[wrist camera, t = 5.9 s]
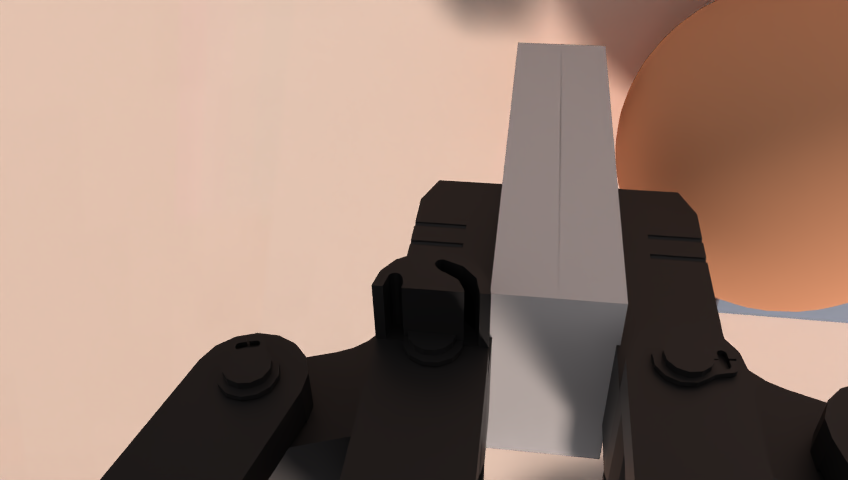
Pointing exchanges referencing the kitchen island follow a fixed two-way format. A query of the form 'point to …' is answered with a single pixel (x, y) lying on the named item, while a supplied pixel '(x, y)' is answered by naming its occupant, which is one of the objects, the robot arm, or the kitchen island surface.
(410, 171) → the kitchen island surface
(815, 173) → the ball
